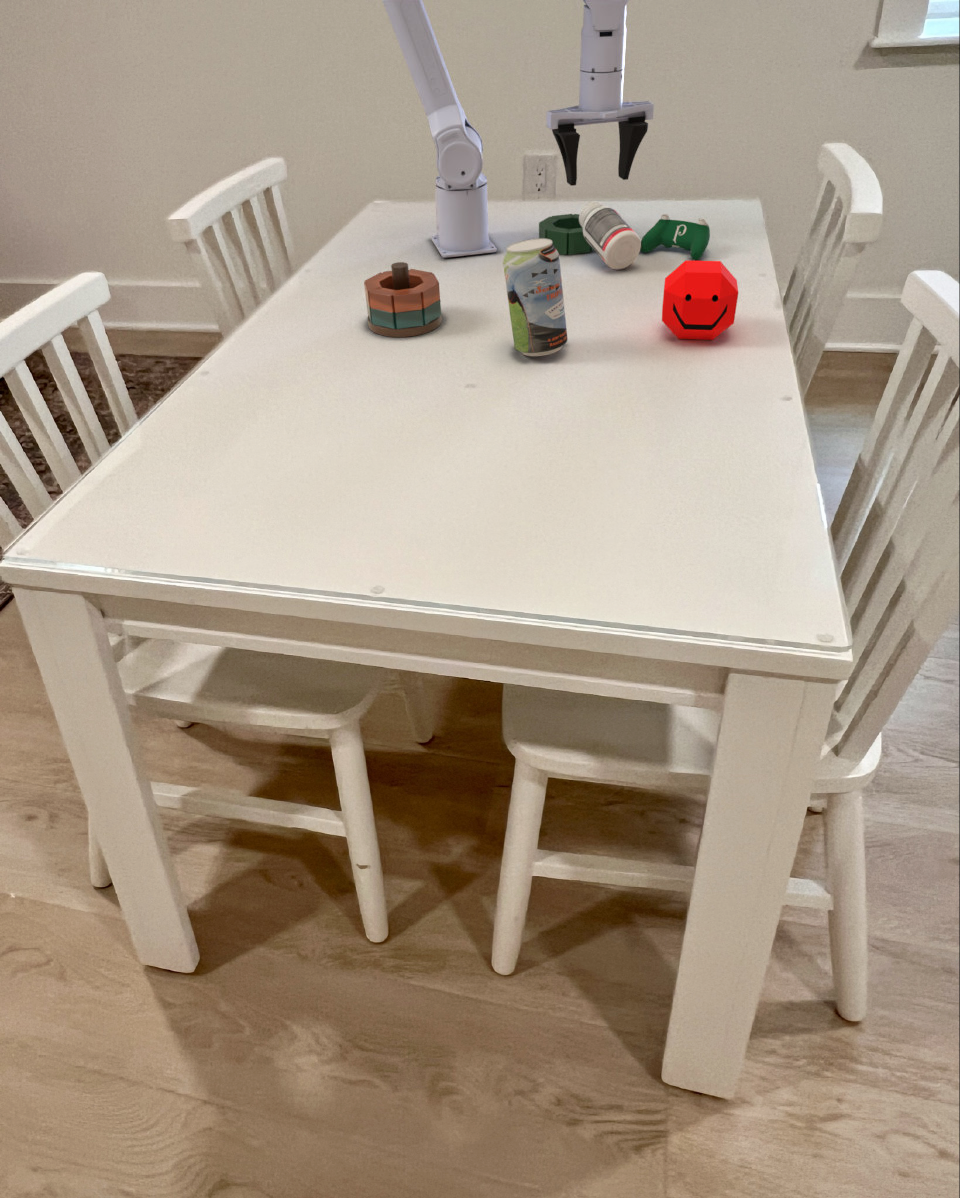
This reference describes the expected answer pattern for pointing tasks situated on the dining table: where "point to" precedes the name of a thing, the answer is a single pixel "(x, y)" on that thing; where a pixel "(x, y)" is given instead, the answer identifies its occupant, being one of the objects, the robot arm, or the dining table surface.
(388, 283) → the ring stack
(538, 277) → the beverage can
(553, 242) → the green ring
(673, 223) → the gaming controller
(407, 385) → the dining table surface
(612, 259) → the pill bottle
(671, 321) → the ball
